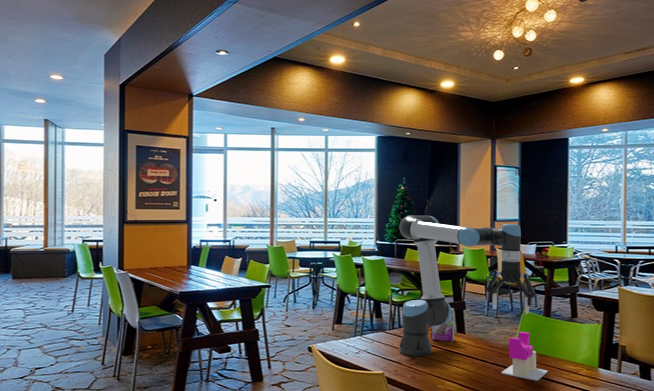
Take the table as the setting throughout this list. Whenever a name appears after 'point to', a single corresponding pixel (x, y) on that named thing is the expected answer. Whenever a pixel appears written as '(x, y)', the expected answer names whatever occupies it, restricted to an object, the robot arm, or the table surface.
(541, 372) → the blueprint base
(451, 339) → the candy bar box
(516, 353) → the toy block
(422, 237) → the robot arm
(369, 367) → the table surface
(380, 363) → the table surface
